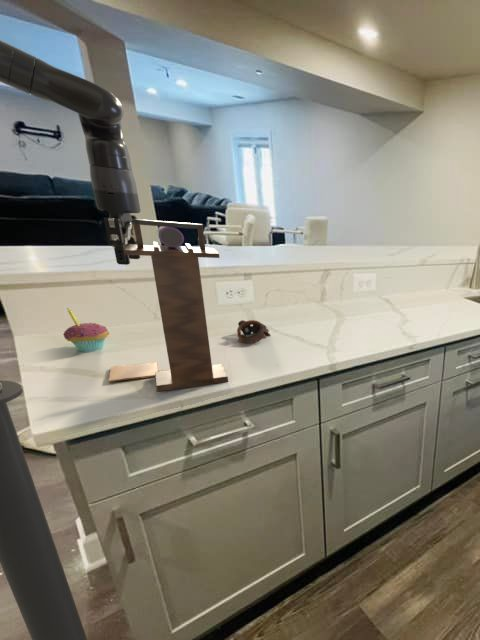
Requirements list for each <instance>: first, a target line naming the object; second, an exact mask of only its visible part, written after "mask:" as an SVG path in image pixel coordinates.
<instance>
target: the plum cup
mask: <svg viewBox="0 0 480 640" xmlns="http://www.w3.org/2000/svg"><path fill="white" fill-rule="evenodd" d="M156 231H157V232H156V234H157V237H158V239H159V242H161V243H162V244H163V246H168V247H173V248H175V247H182V245H183V243H184V241H185V237H184V233H182V231H180V230H179V229H178V227H164V226H158V229H157V230H156Z"/></svg>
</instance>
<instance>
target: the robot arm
mask: <svg viewBox="0 0 480 640" xmlns="http://www.w3.org/2000/svg"><path fill="white" fill-rule="evenodd" d="M0 83H2V84H4V85H6V86H9V87H11V88H14V89H16V90H18V91H20V92H23V93H26V94H27V95H30V96H32V97H35V98H37V99H40V100H43V101H46V102H50V103H54V104H57V105H59V106H61V107H63V108H66V109H68V110H70V111H72V112H74V113H76V114H77V115H78V119H79V123H80V126H81V129H82V132H83V135H84V141H85V150H86V155H87V159H88V160H87V161H88V165H89V175H90V176H89V177H90V182H91V187H92V191H93V195H94V196H93V197H94V201H95V205H96V208H97V209H98V210H99V211H104V212H108V214H109V215H108V217H103V224H104V228H105V234H106V238H107V244H108V246H111V247H112V248H113V250H114V253H115V254H114V255H115V259H116V260H115V261H116V264H117V265H121V266H122V265H125V266H128V265H130V264H131V261H130V260H140V259H141V255H125V251H124V249H125V244H136V245H137V241H136V236H135V230H134V224H133V219H137V215H133V214H139V213H140V212H141V211H142V210H141V206H140V199H139V194H138V188H137V183H136V179H135V176H134V173H133V168H132V162H131V157H130V152H129V148H128V147H127V145H126V143H125V139H124V133H123V127H122V120H123V118H124V114H125V113H124V112H125V111H124V108H123V105H122V103H121V101H120V100H119V99H118V97H117V96H115V94H113V93H112V92H111V91H109V90H108V89H106V88H104V87H103V86H101V85H98V84H96V83H94V82H92V81H90V80H87V79H85V78H82V77H81V76H78V75H75V74H73V73H71V72H68V71H65V70H63V69H61V68H57V67H55V66H54V65H51V64H49V63H48V62H46V61H44V60H42V59H40V58H37V57H36V56H35V55H32V54H30V53H28V52H26V51H23V50H22V49H20V48H18V47H15V46H13V45H11V44H10V43H7V42H5V41H2V40H1V39H0ZM2 391H3V387H2V384H0V392H2Z"/></svg>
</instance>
